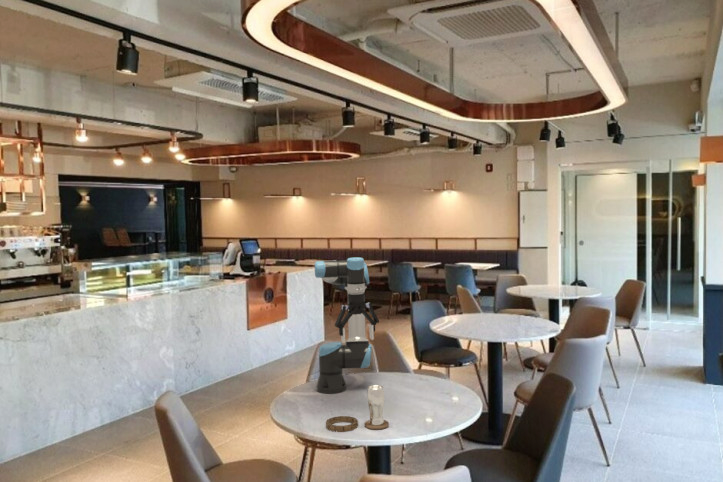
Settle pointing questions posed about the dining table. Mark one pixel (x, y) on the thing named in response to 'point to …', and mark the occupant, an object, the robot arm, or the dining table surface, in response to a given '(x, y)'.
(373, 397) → the beer glass
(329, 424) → the ring
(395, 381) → the dining table surface
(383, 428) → the walnut coaster
